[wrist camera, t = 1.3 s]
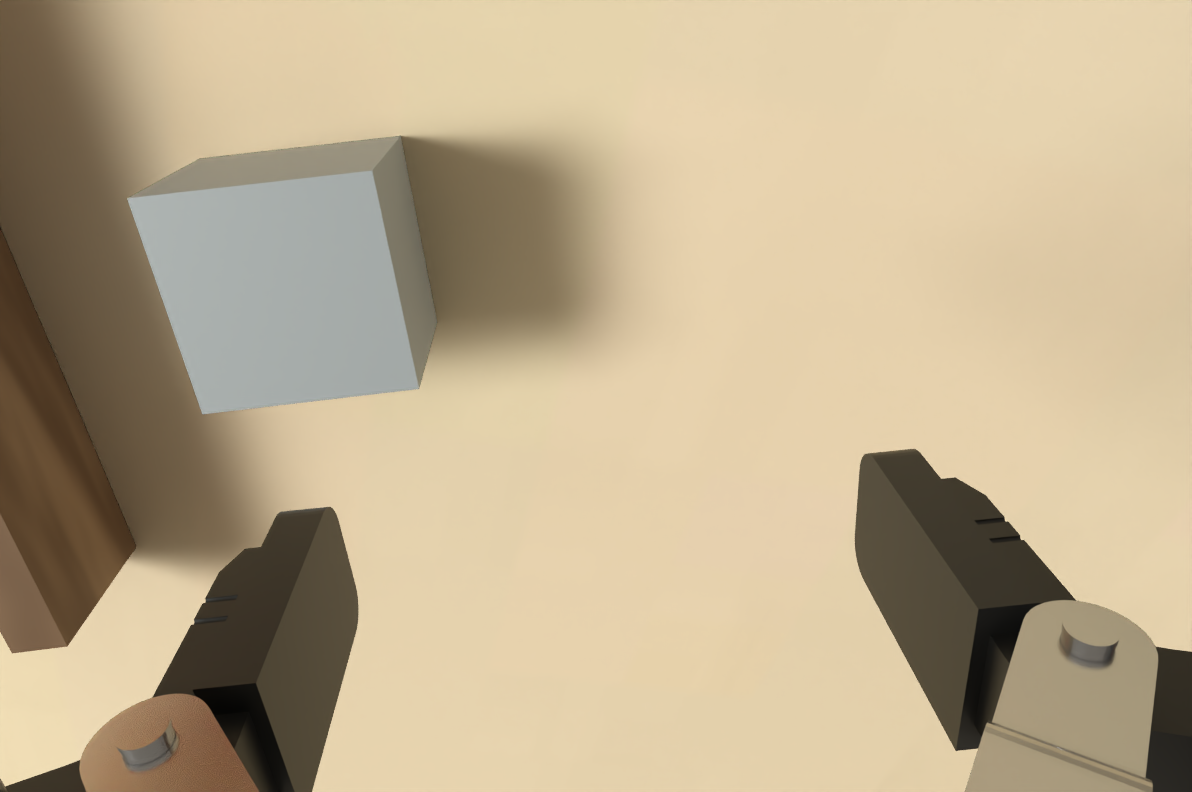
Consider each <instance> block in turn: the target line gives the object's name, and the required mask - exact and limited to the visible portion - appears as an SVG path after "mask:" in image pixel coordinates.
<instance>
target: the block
mask: <svg viewBox="0 0 1192 792" xmlns="http://www.w3.org/2000/svg"><path fill="white" fill-rule="evenodd" d="M127 200H128V203H129V206H130V209H131V212H132V214H133V217H134V220H135V223H136V226H137V229H138V232H139V234H140V237H141V240H142V243H143V246H144V249H145V252H146V254H147V257H148V260H149V263H150V266H151V269H152V272H153V274H154V277H155V280H156V283H157V286H158V289H159V292H160V294H161V297H162V300H163V303H164V306H165V309H166V312H167V315H168V317H169V320H170V323H171V326H172V329H173V332H174V335H175V337H176V340H177V343H178V346H179V349H180V352H181V355H182V357H183V360H184V363H185V366H186V369H187V372H188V375H189V377H190V380H191V383H192V386H193V389H194V392H195V395H196V398H197V400H198V403H199V406H200V409H201V412H202V414H210V413H218V412H227V411H235V410H244V409H252V408H261V407H269V406H278V405H286V404H295V403H303V402H312V401H320V400H328V399H337V398H345V397H354V396H362V395H371V394H379V393H388V392H396V391H405V390H413V389H419V387H420V384H421V380H422V376H423V373H424V369H425V365H426V362H427V358H428V354H429V351H430V347H431V343H432V340H433V336H434V332H435V329H436V325H437V318H436V313H435V308H434V303H433V298H432V293H431V287H430V282H429V277H428V272H427V267H426V262H425V257H424V252H423V247H422V242H421V237H420V231H419V226H418V221H417V216H416V211H415V206H414V201H413V196H412V191H411V186H410V180H409V175H408V170H407V165H406V160H405V155H404V150H403V145H402V140H401V136H395V137H387V138H378V139H369V140H360V141H351V142H342V143H333V144H324V145H316V146H307V147H298V148H289V149H280V150H271V151H262V152H254V153H245V154H236V155H227V156H218V157H209V158H200V159H198V160H196V161H194V162H192V163H191V164H189V165H187V166H185V167H183V168H181V169H180V170H178V171H176V172H174V173H172V174H171V175H169V176H167V177H165V178H163V179H161V180H160V181H158V182H156V183H154V184H152V185H150V186H149V187H147V188H145V189H143V190H141V191H139V192H138V193H136V194H134V195H132V196H130V197H128V198H127Z"/></svg>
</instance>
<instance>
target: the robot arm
mask: <svg viewBox="0 0 1192 792" xmlns="http://www.w3.org/2000/svg"><path fill="white" fill-rule="evenodd" d="M855 550H856V557H857V562H858V566H859V569H860V572H861V575H862V577H863V579H864V581H865V583H866V585H867V587H868V589H869V591H870V592H871V594H872V596H873V598H874V600H875V602H876V604H877V605H878V607H879V609H880V611H881V613H882V615H883V617H884V618H885V620H886V622H887V624H888V626H889V628H890V630H891V631H892V633H893V635H894V637H895V639H896V641H897V643H898V644H899V646H900V648H901V650H902V652H903V654H904V656H905V657H906V659H907V661H908V663H909V665H910V667H911V669H912V670H913V672H914V674H915V676H916V678H917V680H918V681H919V683H920V685H921V687H922V689H923V691H924V693H925V694H926V696H927V698H928V700H929V702H930V704H931V706H932V707H933V709H934V711H935V713H936V715H937V717H938V719H939V720H940V722H941V724H942V726H943V728H944V730H945V732H946V733H947V735H948V737H949V739H950V741H951V743H952V745H953V746H954V748H955V750H956V751H958V750H967V749H976V748H978V751H977V754H976V757H975V761H974V764H973V767H972V770H971V773H970V777H969V780H968V783H967V786H966V789H965V792H1192V652H1188V651H1180V650H1172V649H1166V648H1160V647H1156V646H1155V645H1154V643H1153V642H1152V640H1151V638H1150V637H1149V636H1148V635H1147V634H1146V633H1145V632H1144V631H1143V630H1142V629H1141V628H1140V627H1139V626H1138V625H1136V624H1135V623H1133V622H1132V621H1131V620H1129V619H1128V618H1126V617H1124V616H1122V615H1120V614H1119V613H1116V612H1114V611H1112V610H1110V609H1107V608H1104V607H1101V606H1098V605H1095V604H1091V603H1086V602H1081V601H1076V600H1075V599H1074V598H1073V596H1072V595H1071V594H1070V593H1069V592H1068V591H1067V589H1066V588H1065V587H1064V586H1063V585H1062V584H1061V582H1060V581H1059V580H1058V579H1057V578H1056V577H1055V575H1054V574H1053V573H1052V572H1051V571H1050V570H1049V568H1048V567H1047V566H1046V565H1045V564H1044V563H1043V562H1042V560H1041V559H1040V558H1039V557H1038V556H1037V555H1036V553H1035V552H1034V551H1033V550H1032V549H1031V548H1030V546H1029V545H1028V544H1027V543H1026V542H1025V541H1024V540H1021V539H1020V535H1019V534H1018V532H1017V531H1016V530H1015V529H1014V528H1013V527H1012V525H1011V524H1010V523H1009V522H1005V519H1004V516H1003V515H1002V514H1001V513H1000V512H999V510H998V509H997V508H996V507H995V506H994V505H993V503H992V502H991V501H990V500H989V499H988V498H987V496H986V495H984V494H982V493H981V492H979V491H977V490H976V489H974V488H972V487H971V486H969V485H967V484H965V483H964V482H962V481H960V480H959V479H957V478H946V479H941V478H940V477H939V476H938V475H937V473H936V472H935V471H934V470H933V468H932V467H931V466H930V465H929V463H928V462H927V461H926V460H925V458H924V457H923V456H922V455H921V453H920V452H919V451H917V450H916V449H908V450H898V451H888V452H878V453H869V454H865V455H864V456H863V458H862V460H861V464H860V472H859V486H858V500H857V514H856V528H855ZM205 599H206V603H203V604H202V606H201V607H200V609H199V611H198V613H197V615H196V617H195V619H194V621H195V623H194V625H191V626H190V628H189V630H188V632H187V634H186V636H185V638H184V639H183V641H182V643H181V645H180V647H179V649H178V651H177V653H176V654H175V656H174V658H173V660H172V662H171V664H170V666H169V668H168V669H167V671H166V673H165V675H164V677H163V679H162V681H161V683H160V684H159V686H158V688H157V690H156V692H155V694H154V696H153V698H150V699H148V700H145V701H142V702H140V703H138V704H136V705H133V706H131V707H130V708H128V709H126V710H124V711H123V712H121V713H119V714H118V715H117V716H115V717H114V718H112V719H111V720H110V721H109V722H107V723H106V724H105V725H104V726H103V727H102V728H101V729H100V730H99V731H98V732H97V733H96V734H95V735H94V736H93V738H92V739H91V740H90V742H89V743H88V744H87V746H86V748H85V750H84V752H83V754H82V757H81V760H79V761H77V762H74V763H72V764H69V765H66V766H63V767H60V768H58V769H55V770H52V771H49V772H46V773H43V774H40V775H37V776H34V777H32V778H29V779H26V780H23V781H20V782H17V783H14V784H11V785H9V786H6V787H5V786H4V784H3V782H2V781H1V779H0V792H312V789H313V786H314V782H315V778H316V775H317V771H318V767H319V764H320V760H321V757H322V753H323V749H324V746H325V742H326V738H327V735H328V731H329V728H330V724H331V720H332V717H333V713H334V710H335V706H336V702H337V699H338V695H339V691H340V688H341V684H342V681H343V677H344V673H345V670H346V666H347V663H348V659H349V655H350V652H351V648H352V644H353V641H354V637H355V634H356V630H357V624H358V597H357V590H356V585H355V582H354V578H353V574H352V570H351V566H350V563H349V559H348V555H347V551H346V548H345V544H344V540H343V536H342V532H341V529H340V525H339V521H338V518H337V515H336V513H335V511H334V510H333V509H332V508H331V507H324V508H314V509H304V510H294V511H285V512H280V513H278V515H277V516H276V518H275V520H274V522H273V524H272V526H271V528H270V530H269V532H268V534H267V536H266V538H265V540H264V542H263V544H262V547H258V548H248V549H244V550H243V551H242V552H241V553H240V554H239V555H238V556H237V557H236V558H235V559H233V560H232V561H231V562H230V563H229V564H228V565H227V566H226V567H225V568H224V569H222V570H221V571H220V572H219V574H218V576H217V577H216V579H215V581H214V583H213V585H212V587H211V589H210V591H209V592H208V594H207V596H206V598H205Z"/></svg>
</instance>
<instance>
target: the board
mask: <svg viewBox="0 0 1192 792" xmlns="http://www.w3.org/2000/svg"><path fill="white" fill-rule="evenodd" d="M135 548H136V545H135V543H134V540H133V538H132V536H131V533H130V531H129V529H128V526H127V524H126V522H125V519H124V517H123V515H122V512H121V510H120V508H119V505H118V503H117V501H116V498H115V496H114V493H113V491H112V489H111V486H110V484H109V482H108V479H107V477H106V475H105V472H104V470H103V468H102V465H101V463H100V461H99V458H98V456H97V454H96V451H95V449H94V447H93V444H92V442H91V440H90V437H89V435H88V433H87V430H86V428H85V425H84V423H83V421H82V418H81V416H80V414H79V411H78V409H77V407H76V404H75V402H74V400H73V397H72V395H71V393H70V390H69V388H68V386H67V383H66V381H65V379H64V376H63V374H62V372H61V369H60V367H59V365H58V362H57V360H56V358H55V355H54V353H53V350H52V348H51V346H50V343H49V341H48V339H47V336H46V334H45V332H44V329H43V327H42V325H41V322H40V320H39V318H38V315H37V313H36V311H35V308H34V306H33V304H32V301H31V299H30V297H29V294H28V292H27V290H26V287H25V285H24V282H23V280H22V278H21V275H20V273H19V271H18V268H17V266H16V264H15V261H14V259H13V257H12V254H11V252H10V250H9V247H8V245H7V243H6V240H5V238H4V236H3V233H2V231H1V229H0V632H1V634H2V636H3V638H4V639H5V641H6V643H7V645H8V647H9V648H10V650H11V652H12V653H18V652H26V651H34V650H42V649H50V648H58V647H66V646H68V645H69V643H70V642H71V640H72V639H73V637H74V636H75V635H76V633H77V632H78V630H79V629H80V627H81V626H82V624H83V623H84V622H85V620H86V619H87V617H88V616H89V614H90V613H91V611H92V610H93V609H94V607H95V606H96V604H97V603H98V601H99V600H100V598H101V597H102V596H103V594H104V593H105V591H106V590H107V588H108V587H109V585H110V584H111V583H112V581H113V580H114V578H115V577H116V575H117V574H118V572H119V571H120V570H121V568H122V567H123V565H124V564H125V562H126V561H127V559H128V558H129V557H130V555H131V554H132V552H133V551H134V549H135Z"/></svg>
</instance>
